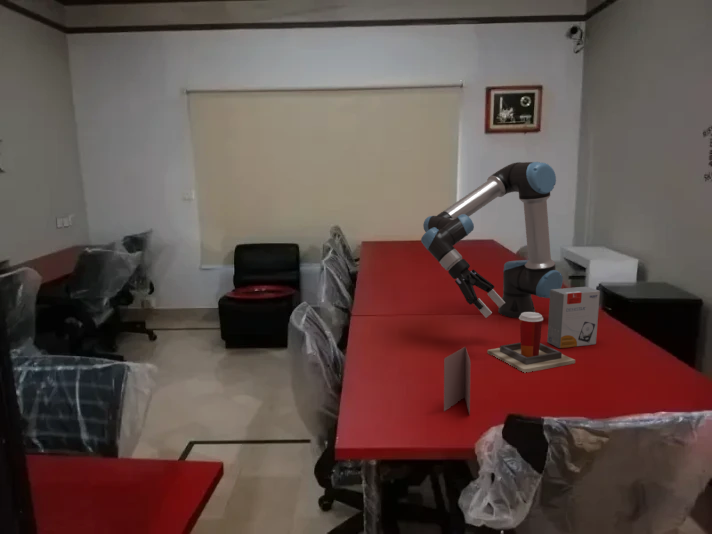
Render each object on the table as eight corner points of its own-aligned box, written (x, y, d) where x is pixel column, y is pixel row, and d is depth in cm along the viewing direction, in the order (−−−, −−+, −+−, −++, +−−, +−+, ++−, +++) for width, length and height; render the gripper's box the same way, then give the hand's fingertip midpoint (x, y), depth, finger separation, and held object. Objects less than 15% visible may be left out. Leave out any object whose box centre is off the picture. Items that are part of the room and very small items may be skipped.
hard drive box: (559, 349, 194) (561, 293, 190) (546, 342, 201) (548, 289, 198) (597, 344, 198) (600, 290, 194) (583, 338, 205) (586, 285, 202)
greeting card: (461, 396, 158) (462, 346, 155) (485, 403, 153) (487, 351, 150) (441, 410, 149) (441, 357, 146) (465, 418, 145) (466, 363, 142)
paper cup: (537, 350, 190) (538, 311, 187) (545, 358, 182) (547, 317, 180) (514, 351, 190) (515, 311, 187) (521, 359, 182) (523, 318, 179)
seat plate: (487, 353, 192) (487, 344, 191) (534, 345, 199) (535, 336, 198) (524, 373, 174) (524, 363, 173) (575, 363, 181) (575, 354, 180)
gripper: (461, 264, 210) (500, 307, 205) (433, 278, 190) (475, 326, 184) (475, 251, 206) (514, 295, 201) (447, 264, 186) (491, 313, 181)
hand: (496, 310), depth 193 cm, fingers open, 13 cm apart
